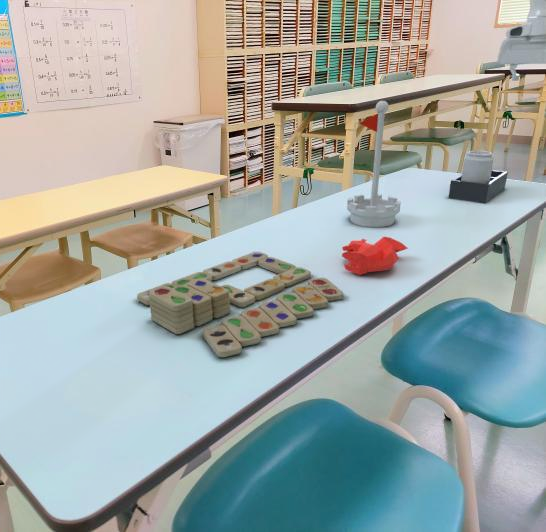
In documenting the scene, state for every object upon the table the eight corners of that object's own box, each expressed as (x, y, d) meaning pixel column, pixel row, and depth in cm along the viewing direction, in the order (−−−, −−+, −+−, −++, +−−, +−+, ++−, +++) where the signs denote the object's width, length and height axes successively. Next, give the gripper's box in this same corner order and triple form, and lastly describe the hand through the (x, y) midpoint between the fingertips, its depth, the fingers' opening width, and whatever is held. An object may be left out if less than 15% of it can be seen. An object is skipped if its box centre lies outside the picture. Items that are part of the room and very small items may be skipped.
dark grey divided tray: (504, 188, 159) (508, 171, 157) (485, 203, 146) (488, 184, 144) (469, 184, 165) (472, 168, 163) (448, 198, 152) (450, 180, 150)
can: (460, 196, 150) (467, 154, 145) (457, 189, 156) (463, 149, 152) (489, 197, 148) (497, 154, 143) (485, 190, 154) (492, 149, 150)
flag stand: (389, 212, 142) (401, 97, 130) (405, 227, 130) (420, 102, 118) (341, 213, 142) (348, 99, 131) (352, 229, 130) (362, 104, 119)
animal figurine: (414, 259, 110) (417, 237, 108) (382, 282, 101) (384, 258, 99) (364, 247, 118) (366, 226, 116) (329, 267, 108) (330, 245, 106)
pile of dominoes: (222, 364, 76) (221, 331, 74) (123, 305, 96) (120, 277, 94) (360, 292, 97) (362, 264, 95) (255, 255, 116) (255, 231, 114)
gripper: (589, 26, 142) (578, 79, 147) (506, 30, 155) (498, 79, 160) (585, 26, 137) (573, 81, 143) (500, 30, 150) (492, 81, 156)
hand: (533, 80), depth 151 cm, fingers open, 8 cm apart
